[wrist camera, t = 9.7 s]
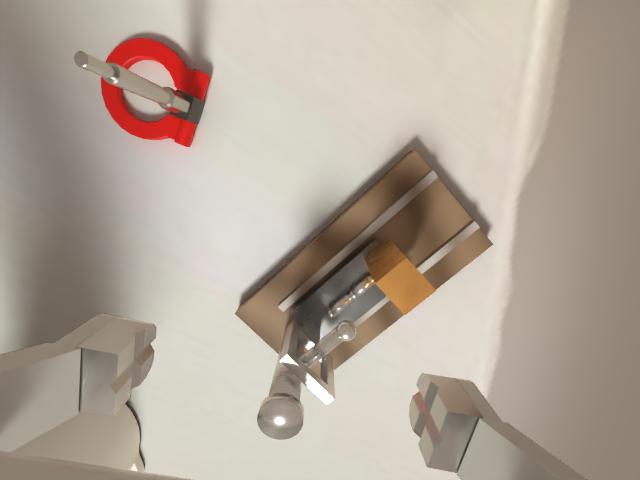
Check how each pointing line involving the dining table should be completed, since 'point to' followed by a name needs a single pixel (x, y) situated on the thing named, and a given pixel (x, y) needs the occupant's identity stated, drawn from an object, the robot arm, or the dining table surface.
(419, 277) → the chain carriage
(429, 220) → the board
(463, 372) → the dining table surface
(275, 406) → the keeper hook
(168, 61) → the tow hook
